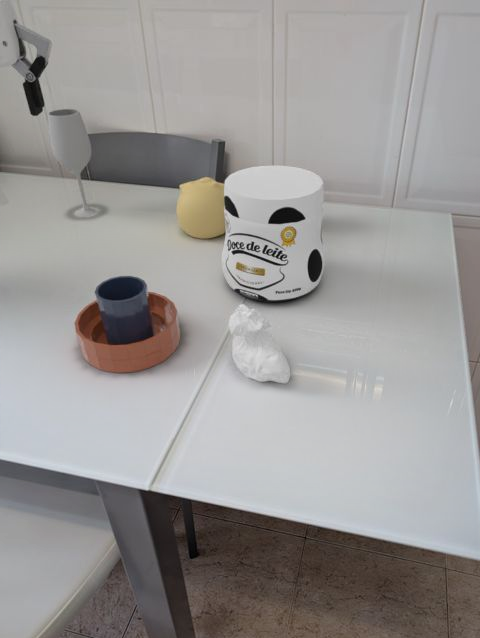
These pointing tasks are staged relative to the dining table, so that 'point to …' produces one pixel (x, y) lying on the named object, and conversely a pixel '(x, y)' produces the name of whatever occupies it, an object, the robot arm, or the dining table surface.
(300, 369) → the dining table surface
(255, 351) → the bust
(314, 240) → the white doce de leite
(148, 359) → the bowl
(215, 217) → the sculpture
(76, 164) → the wineglass
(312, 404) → the dining table surface
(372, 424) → the dining table surface
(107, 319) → the cup
